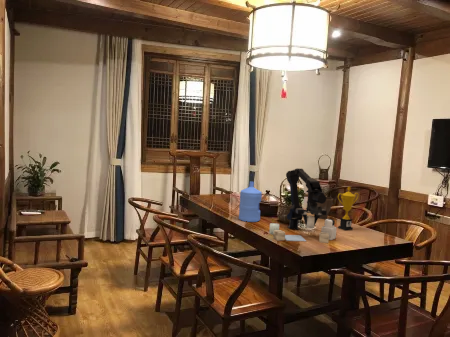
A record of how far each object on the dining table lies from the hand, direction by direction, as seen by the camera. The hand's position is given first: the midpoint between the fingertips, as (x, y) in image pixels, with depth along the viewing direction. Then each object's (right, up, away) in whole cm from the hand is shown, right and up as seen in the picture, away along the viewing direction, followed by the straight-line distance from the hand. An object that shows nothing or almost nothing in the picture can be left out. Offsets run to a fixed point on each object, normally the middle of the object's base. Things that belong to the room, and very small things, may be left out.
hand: (310, 224), depth 237 cm
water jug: (-36, -2, +36) cm, 51 cm away
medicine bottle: (+11, -8, -2) cm, 14 cm away
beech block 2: (+6, -9, -11) cm, 15 cm away
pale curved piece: (-23, -6, +2) cm, 23 cm away
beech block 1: (-21, -7, -11) cm, 25 cm away
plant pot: (+22, -3, +57) cm, 61 cm away
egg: (0, -2, 0) cm, 2 cm away
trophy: (+30, -7, +25) cm, 40 cm away
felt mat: (-12, -7, -7) cm, 16 cm away
